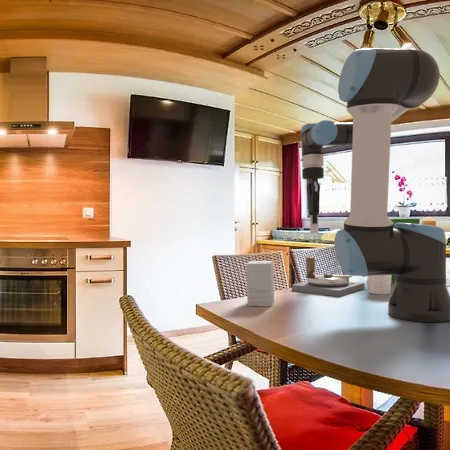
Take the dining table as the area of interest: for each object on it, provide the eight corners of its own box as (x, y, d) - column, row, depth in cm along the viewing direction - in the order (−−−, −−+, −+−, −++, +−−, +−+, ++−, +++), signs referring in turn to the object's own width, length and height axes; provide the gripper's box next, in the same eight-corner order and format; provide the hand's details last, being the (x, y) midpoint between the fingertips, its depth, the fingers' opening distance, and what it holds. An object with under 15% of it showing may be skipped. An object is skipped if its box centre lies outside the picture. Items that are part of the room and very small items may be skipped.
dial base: (339, 296, 124) (338, 289, 124) (292, 290, 136) (291, 283, 136) (364, 288, 136) (364, 282, 136) (319, 283, 149) (319, 277, 149)
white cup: (388, 290, 132) (387, 261, 132) (395, 295, 124) (395, 263, 124) (364, 290, 133) (363, 261, 133) (370, 295, 125) (369, 264, 125)
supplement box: (274, 301, 119) (274, 260, 119) (271, 307, 112) (270, 263, 112) (251, 300, 121) (250, 260, 121) (246, 306, 114) (245, 263, 114)
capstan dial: (347, 279, 143) (346, 255, 142) (356, 286, 129) (356, 259, 128) (304, 280, 144) (303, 255, 144) (308, 286, 130) (308, 259, 130)
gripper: (299, 170, 147) (301, 232, 147) (305, 165, 134) (306, 233, 134) (319, 169, 147) (321, 232, 147) (327, 164, 134) (328, 233, 134)
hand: (314, 232), depth 140 cm, fingers closed
